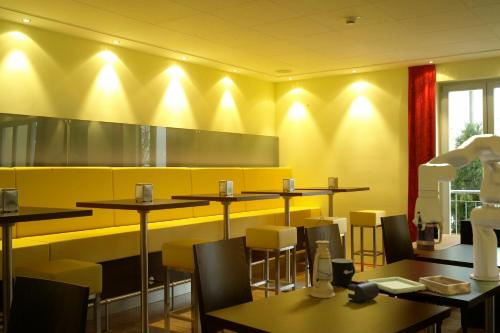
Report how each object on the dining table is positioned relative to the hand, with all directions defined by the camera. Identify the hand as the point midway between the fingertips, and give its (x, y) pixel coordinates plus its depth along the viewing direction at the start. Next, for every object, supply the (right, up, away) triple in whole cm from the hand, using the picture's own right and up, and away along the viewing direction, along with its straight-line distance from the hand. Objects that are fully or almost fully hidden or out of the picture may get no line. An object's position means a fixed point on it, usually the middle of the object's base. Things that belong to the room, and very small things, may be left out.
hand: (428, 239), depth 202 cm
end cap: (-30, -20, -18) cm, 41 cm away
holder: (+6, -20, -1) cm, 21 cm away
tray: (-12, -20, +3) cm, 24 cm away
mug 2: (0, -5, 0) cm, 5 cm away
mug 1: (-32, -21, +9) cm, 39 cm away
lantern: (-44, -20, -9) cm, 49 cm away
